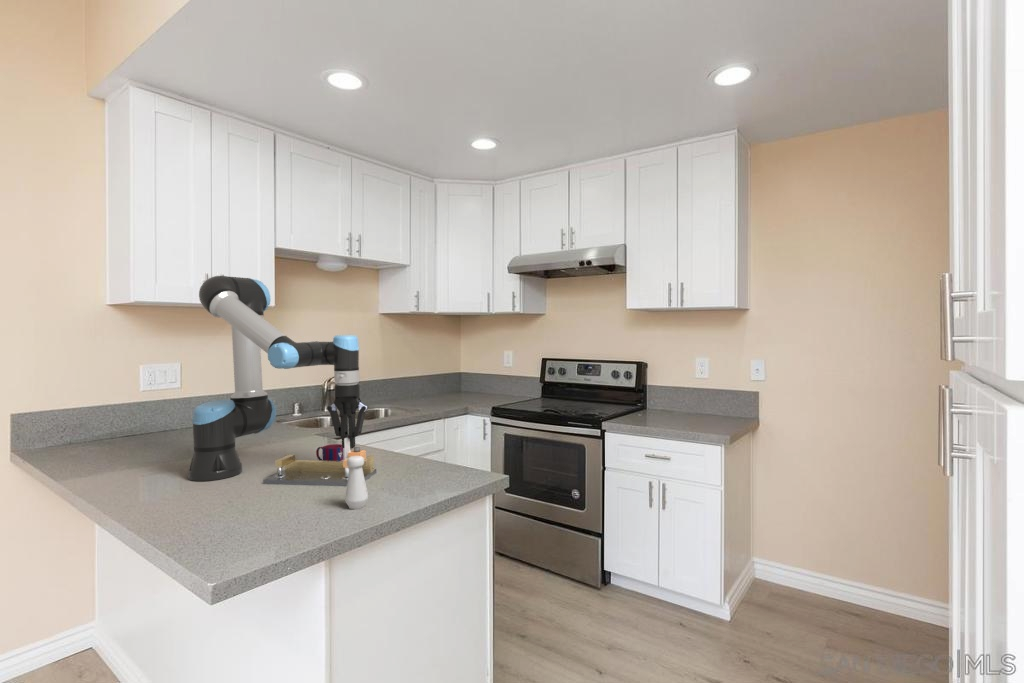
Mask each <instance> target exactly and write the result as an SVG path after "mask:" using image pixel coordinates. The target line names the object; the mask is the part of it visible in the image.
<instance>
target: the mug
mask: <svg viewBox="0 0 1024 683" xmlns="http://www.w3.org/2000/svg"><path fill="white" fill-rule="evenodd" d="M320 449H321V450H322V451H321V452H322V455H321V456H322V458H321V456H320V454H319V452H320ZM315 451H316V452H315V455H316V458H317V460H320V461H344V460H345V455H344V448H342V443H340V444H339V443H337V444H336V443H335V444H334V443H333V444H332V443H331V444H327V445H326V444H325V445H324V446H319V447H317V448H316V450H315Z"/></svg>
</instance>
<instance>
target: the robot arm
mask: <svg viewBox="0 0 1024 683" xmlns="http://www.w3.org/2000/svg"><path fill="white" fill-rule="evenodd" d="M198 298H199V299H198V300H199V301H200V304H201V305H202V307H203V308H204V309H205V310H206V311H207V312H208V313H209V314H210V315H212V316H213V317H215V318H221V319H222V320H224V321H225V322H227V323H228V324H229V325H230V326H231V341H232V356H233V357H232V358H233V359H232V362H233V377H234V378H233V379H234V380H233V382H234V392H233V393H232V394H231V395H230V399H219V400H213V401H209V402H205V403H201V404H198V405H197V406H195V408H194V409H193V411H192V420H191V422H192V426H193V427H192V432H193V454H192V458H191V462H190V465H189V469H188V470H187V474H188V476H187V478H188V480H190V481H194V482H208V481H215V480H216V481H217V480H223V479H227V478H232V477H235V476H237V475H239V474H241V473H242V472H243V464H242V461H241V460H240V456H239V454H238V451H237V448H236V438H240V437H244V436H247V435H252V434H253V435H255V434H258V433H261V432H264V431H267V430H268V429H270V428H271V427H272V425H273V424H274V422H275V420H276V417H277V407H276V405H275V404H274V401H273V400H272V399H270V398H268V396H269V395H268V392H266V391H265V390H264V389H263V374H262V355H261V354H262V353H261V350H262V351H264V352H265V353H266V354H267V360H268V361H269V363H270V365H271V366H272V367H273V368H274V369H284V370H286V369H287V370H288V369H294V368H303V367H314V366H316V367H317V366H333V370H334V376H333V377H334V383H335V385H334V400H333V403H332V404H331V405H329V406H326V409H327V411H328V412H329V414H330V418H331V423H332V426H333V430H334V434H335V436H336V437H340V438H341V445H342V448H343V449H344V460H345V459H347V458H348V453H349V452H351V451H353V450H354V448H355V447H356V437H358V436H360V435H361V434H362V431H363V426H364V420H365V415H366V413H367V411H368V409H369V405H365V404H363V403H362V400H361V398H360V395H361V394H360V393H361V391H360V386H361V385H360V384H359V383H360V367H359V366H360V364H359V363H360V362H359V360H360V358H359V357H360V354H359V353H360V348H359V338H358V336H357V335H354V334H352V335H351V334H349V335H348V334H346V335H345V334H342V335H341V334H340V335H334V336H333V338H332V339H333V340H332V341H318V340H317V341H309V342H308V341H305V342H296V341H294V340H292V339H291V338H290V337H288V336H287V335H285V334H284V333H283V331H280V330H279V329H278V328H277V327H276V326H274V325H273V324H271V323H270V322H269V321H268V320H266V319H265V317H264V316H265V314H264V312H266V311H267V310H268V308H269V306H270V305H271V294H270V291H269V288H268V287H267V286H266V285H265V284H264V282H262V280H261V281H260V280H258V279H254V278H250V277H239V276H238V277H237V276H227V275H216V276H212V277H209V278H207V279H206V280H204V282H203V283H202V284H201V286H200V288H199V292H198ZM357 411H358V413H357ZM338 412H339V413H338ZM356 415H357V418H356ZM356 419H357V420H356Z"/></svg>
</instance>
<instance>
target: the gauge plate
mask: <svg viewBox="0 0 1024 683" xmlns="http://www.w3.org/2000/svg"><path fill="white" fill-rule="evenodd" d="M363 474H364V478H365V482H366V481H367V480H369V479H370V478H371V477H372V476H374V475H376V474H377V469H376V468H374V471H373V472H371V473H363ZM347 482H348V477H345V472H318V471H285V469H282V476H278V472H277V473H274V474H273V475H270V476H268V477H266V478H263V479H262V484H264V485H292V486H293V485H295V486H296V485H298V486H300V485H301V486H332V487H333V486H334V487H347Z"/></svg>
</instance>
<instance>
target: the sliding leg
mask: <svg viewBox="0 0 1024 683" xmlns="http://www.w3.org/2000/svg"><path fill="white" fill-rule="evenodd" d="M366 452H367V451H366V449H364V450H363V449H362V450H361V447H360V446H355V447H354V448H353V451H351V452H349V453H348V458H349V457H352V456H362V457H363V458H364V461H367V453H366ZM348 458H347V459H348ZM347 459H345V458H344V461H343V467H345V477H348V475H349V468H350V467H348V466H347Z"/></svg>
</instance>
